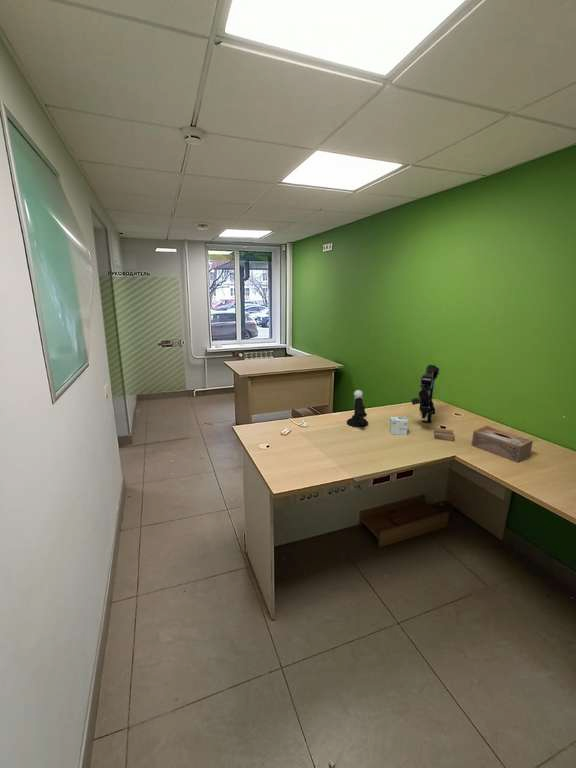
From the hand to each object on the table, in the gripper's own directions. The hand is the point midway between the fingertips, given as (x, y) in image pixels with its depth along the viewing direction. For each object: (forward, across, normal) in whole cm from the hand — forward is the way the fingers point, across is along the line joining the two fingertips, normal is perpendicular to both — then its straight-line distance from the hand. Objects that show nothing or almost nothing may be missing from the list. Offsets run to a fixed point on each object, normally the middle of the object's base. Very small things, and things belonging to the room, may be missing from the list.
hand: (423, 416), depth 225 cm
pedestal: (+10, +6, +13) cm, 17 cm away
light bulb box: (+10, +10, -15) cm, 21 cm away
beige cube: (+2, 0, 0) cm, 2 cm away
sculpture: (+10, +6, -42) cm, 44 cm away
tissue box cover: (+11, +16, +43) cm, 47 cm away
